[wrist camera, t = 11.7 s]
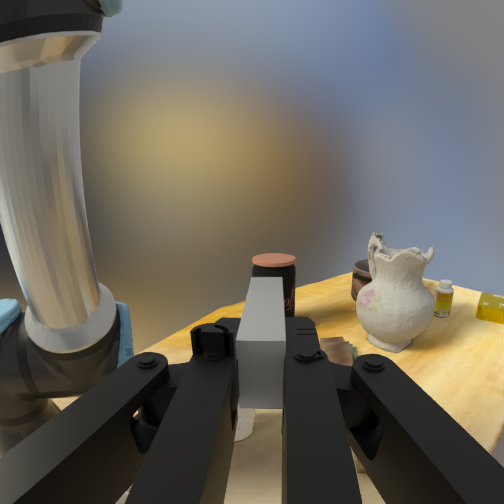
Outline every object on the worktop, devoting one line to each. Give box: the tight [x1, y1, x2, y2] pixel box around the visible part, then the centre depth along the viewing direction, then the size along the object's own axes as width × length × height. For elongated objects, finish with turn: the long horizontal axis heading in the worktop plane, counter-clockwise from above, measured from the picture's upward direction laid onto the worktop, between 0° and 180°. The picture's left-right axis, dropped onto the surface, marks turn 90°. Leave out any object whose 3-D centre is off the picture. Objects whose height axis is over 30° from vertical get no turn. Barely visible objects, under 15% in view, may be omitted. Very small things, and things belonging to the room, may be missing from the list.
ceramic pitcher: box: [356, 232, 435, 353], centre depth 67 cm, size 22×20×25 cm
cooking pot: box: [351, 259, 372, 301], centre depth 95 cm, size 30×22×11 cm
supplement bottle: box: [434, 280, 454, 317], centre depth 78 cm, size 6×6×10 cm
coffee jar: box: [252, 253, 295, 317], centre depth 79 cm, size 11×11×18 cm
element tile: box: [476, 293, 504, 324], centre depth 73 cm, size 15×15×5 cm
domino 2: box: [322, 341, 353, 366], centre depth 54 cm, size 5×2×10 cm
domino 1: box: [320, 337, 354, 360], centre depth 61 cm, size 5×2×10 cm
